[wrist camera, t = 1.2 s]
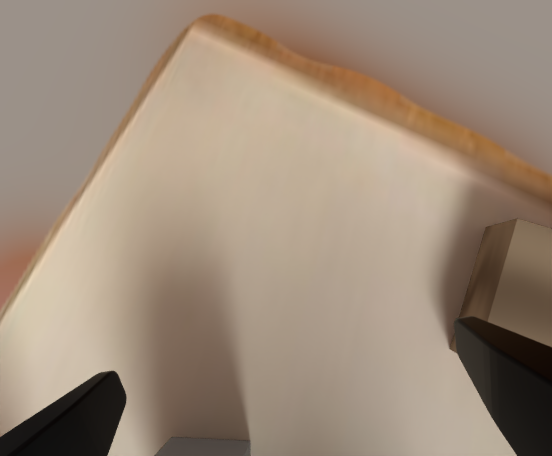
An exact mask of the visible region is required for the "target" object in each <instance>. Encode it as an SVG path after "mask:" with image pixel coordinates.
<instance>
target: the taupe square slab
mask: <svg viewBox="0 0 552 456" xmlns="http://www.w3.org/2000/svg"><path fill="white" fill-rule="evenodd" d="M467 316H474V317H477V318H480V319H482V320H485V321H487V322H490V323H492V324H495V325H497V326H500V327H502V328H505V329H507V330H510V331H512V332H515V333H518V334H520V335H523V336H525V337H528V338H530V339H533V340H535V341H538V342H540V343H543V344H545V345H548V346H550V347H552V228H548V227H545V226H541V225H538V224H535V223H531V222H528V221H524V220H521V219H518V218H517V219H514V220H510V221H507V222H503V223H500V224H496V225H492V226H489V227H486V229H485V232H484V236H483V239H482V242H481V246H480V249H479V252H478V256H477V259H476V263H475V266H474V269H473V273H472V276H471V279H470V283H469V286H468V289H467V293H466V296H465V299H464V303H463V306H462V309H461V313H460V316H459V318H461V317H467ZM450 349H451V350H452V351H454V352H456V353H457V350H456V342H455V333H454V336H453V340H452V343H451V346H450ZM457 354H458V353H457Z"/></svg>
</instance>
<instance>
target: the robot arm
mask: <svg viewBox="0 0 552 456" xmlns="http://www.w3.org/2000/svg"><path fill="white" fill-rule="evenodd" d="M454 329H455V342H456V350H457V353H458V356H459V358H460V360H461V362H462V364H463V365H464V367H465V369H466V371H467V373H468V375H469V377H470V378H471V380H472V382H473V384H474V386H475V388H476V390H477V391H478V393H479V395H480V397H481V399H482V401H483V403H484V404H485V406H486V408H487V410H488V412H489V413H490V415H491V417H492V419H493V420H494V422H495V423H496V425H497V426H498V428H499V430H500V431H501V432H502V434H503V435H504V437H505V438H506V440H507V441H508V443H509V444H510V446H511V447H512V449H513V450H514V452H515V453H516V455H517V456H552V347H550V346H548V345H545V344H543V343H540V342H538V341H535V340H533V339H530V338H528V337H525V336H523V335H520V334H518V333H515V332H512V331H510V330H507V329H505V328H502V327H500V326H497V325H495V324H492V323H490V322H487V321H485V320H482V319H480V318H477V317H474V316H467V317H461V318H457V319H456V320H455V322H454ZM125 405H126V393H125V390H124V388H123V385H122V383H121V381H120V378H119V376H118V374H117V373H116V372H115V371H107V372H101V373H98V374H96V375H95V376H93V377H92V378H90V379H89V380H87V381H86V382H84V383H83V384H81V385H80V386H78V387H76V388H75V389H73V390H72V391H70V392H69V393H67V394H66V395H64V396H63V397H61V398H60V399H58V400H56V401H55V402H53V403H52V404H50V405H49V406H47V407H46V408H44V409H43V410H41V411H40V412H38V413H36V414H35V415H33V416H32V417H30V418H29V419H27V420H26V421H24V422H23V423H21V424H20V425H18V426H16V427H15V428H13V429H12V430H10V431H9V432H7V433H6V434H4V435H3V436H1V437H0V456H107V455H108V453H109V450H110V447H111V444H112V441H113V439H114V436H115V433H116V430H117V427H118V425H119V422H120V419H121V416H122V413H123V410H124V408H125Z"/></svg>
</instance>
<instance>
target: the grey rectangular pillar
mask: <svg viewBox="0 0 552 456" xmlns="http://www.w3.org/2000/svg"><path fill="white" fill-rule="evenodd" d="M155 456H251V453H250V441H245V440H224V439H203V438H182V437H171V438H170V440H169V441H168V442H167V443H166V444H165V445H164V446H163V447H162V448H161V449H160V450H159V452H158V453H157V454H156V455H155Z"/></svg>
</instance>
